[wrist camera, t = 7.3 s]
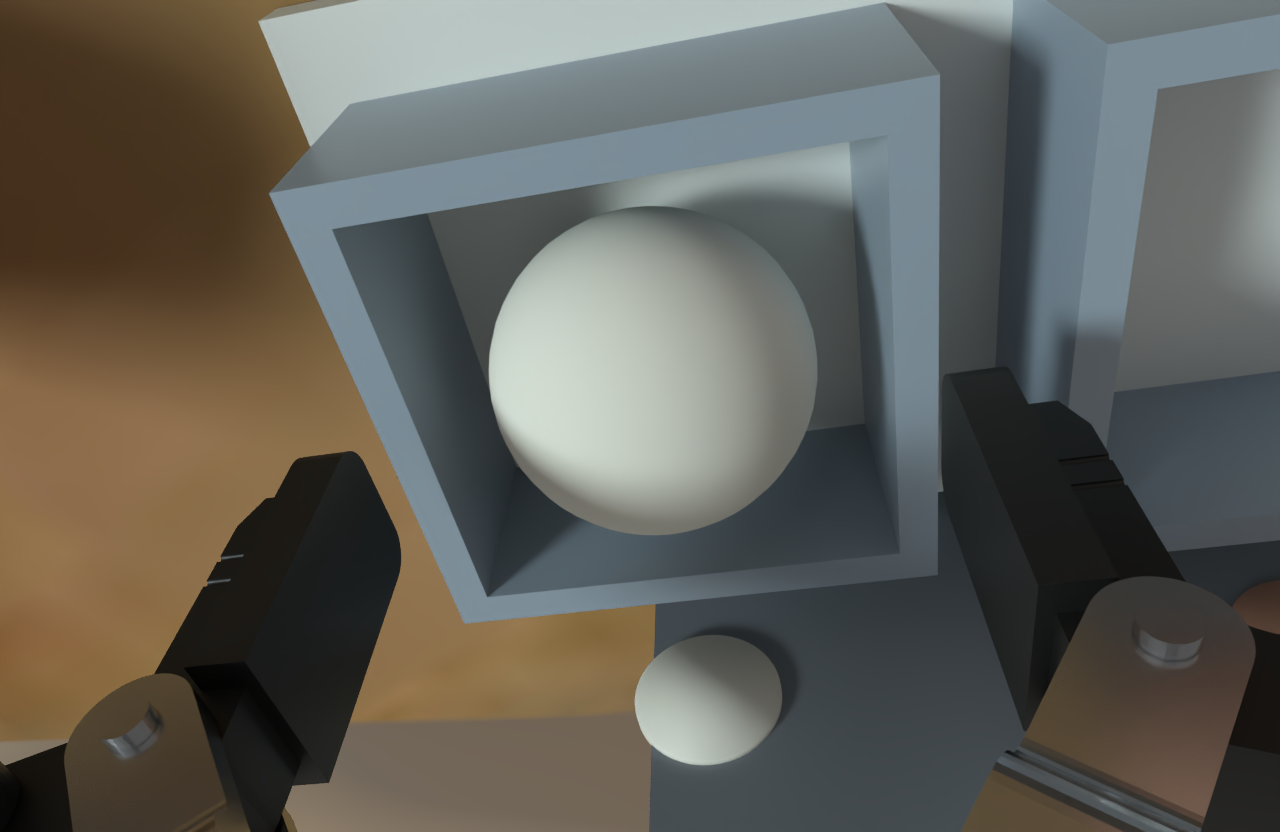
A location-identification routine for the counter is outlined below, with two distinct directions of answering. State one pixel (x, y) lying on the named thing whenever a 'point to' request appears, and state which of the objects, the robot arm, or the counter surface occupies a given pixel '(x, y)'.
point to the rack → (807, 250)
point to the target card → (855, 698)
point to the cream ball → (653, 370)
